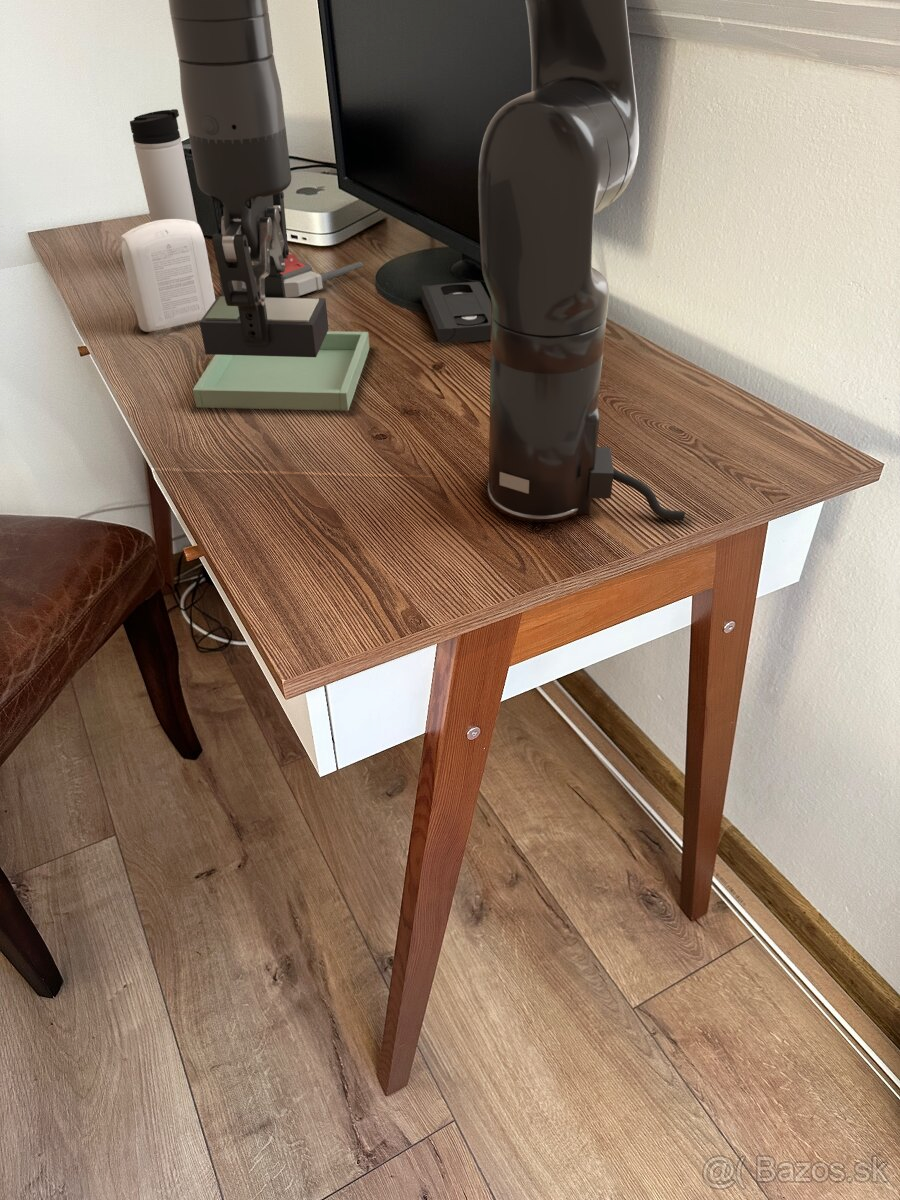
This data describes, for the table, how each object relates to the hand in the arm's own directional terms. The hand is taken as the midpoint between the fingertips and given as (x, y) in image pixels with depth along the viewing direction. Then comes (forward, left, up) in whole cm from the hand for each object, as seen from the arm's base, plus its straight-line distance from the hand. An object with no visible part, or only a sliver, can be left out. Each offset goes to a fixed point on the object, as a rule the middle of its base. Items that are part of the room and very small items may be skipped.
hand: (267, 328), depth 80 cm
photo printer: (+21, -32, -13) cm, 40 cm away
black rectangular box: (0, 0, -1) cm, 1 cm away
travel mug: (+27, -53, -13) cm, 61 cm away
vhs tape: (-15, -34, -13) cm, 39 cm away
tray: (+3, -16, -13) cm, 21 cm away
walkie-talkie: (+9, -44, -13) cm, 47 cm away
